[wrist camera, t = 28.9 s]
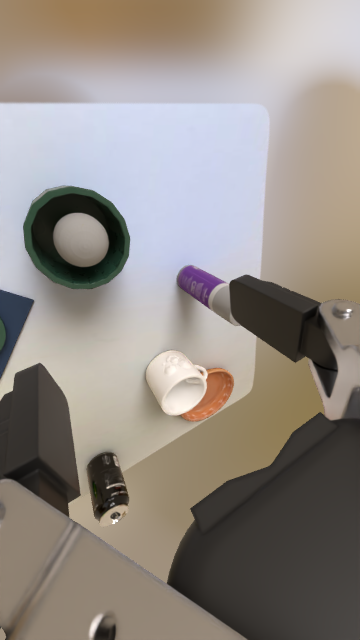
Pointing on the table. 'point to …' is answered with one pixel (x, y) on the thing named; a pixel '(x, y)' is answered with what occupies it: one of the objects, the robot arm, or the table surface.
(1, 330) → the lid
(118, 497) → the beverage can
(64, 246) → the light bulb
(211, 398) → the saucer
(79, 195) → the tin
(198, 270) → the container
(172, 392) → the mug
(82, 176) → the table surface
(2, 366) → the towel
